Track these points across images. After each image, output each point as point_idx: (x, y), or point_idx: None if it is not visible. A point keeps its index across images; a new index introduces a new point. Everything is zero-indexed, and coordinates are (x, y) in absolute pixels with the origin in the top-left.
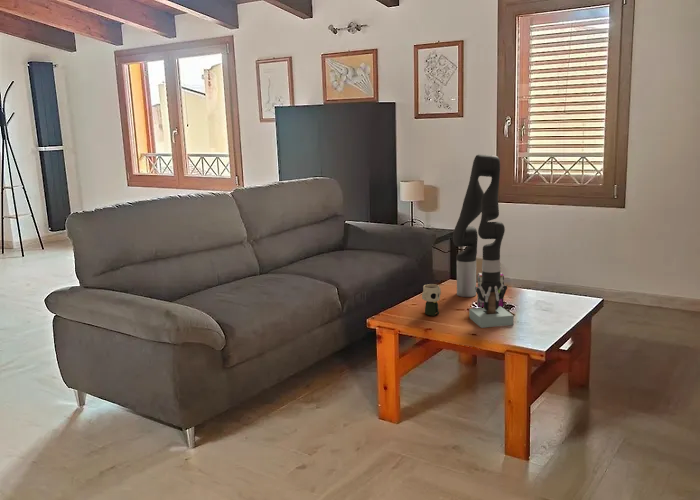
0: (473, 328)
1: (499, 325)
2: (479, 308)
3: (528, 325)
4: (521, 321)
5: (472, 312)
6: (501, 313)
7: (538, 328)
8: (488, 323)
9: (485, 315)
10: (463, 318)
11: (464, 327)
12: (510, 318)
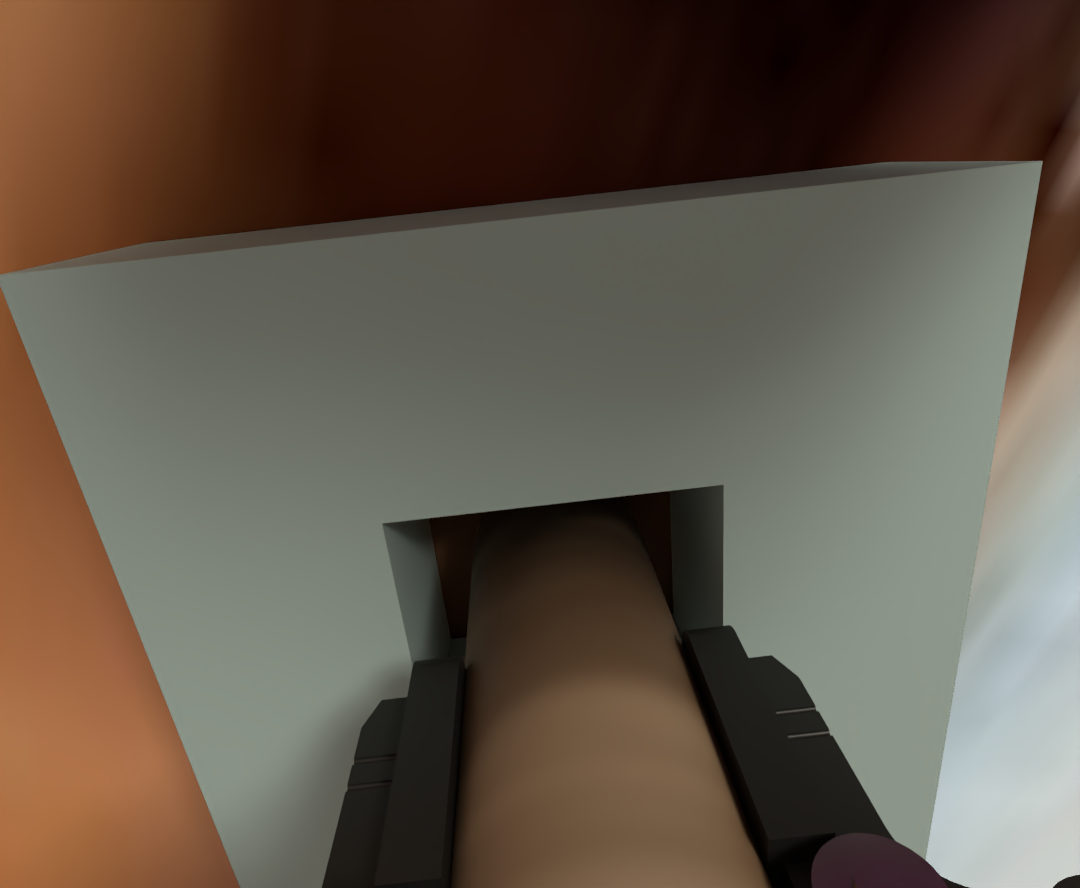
0: (193, 797)
1: None
2: (331, 294)
3: (1023, 768)
4: (1041, 602)
5: (114, 521)
6: None
7: (1067, 871)
8: None
9: None
10: (3, 259)
11: (45, 748)
12: None
